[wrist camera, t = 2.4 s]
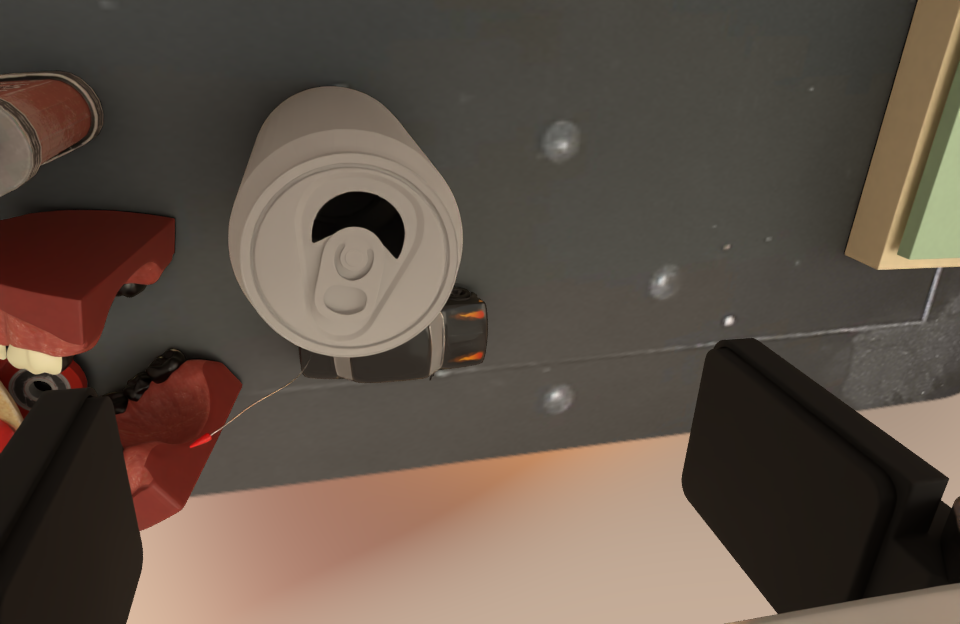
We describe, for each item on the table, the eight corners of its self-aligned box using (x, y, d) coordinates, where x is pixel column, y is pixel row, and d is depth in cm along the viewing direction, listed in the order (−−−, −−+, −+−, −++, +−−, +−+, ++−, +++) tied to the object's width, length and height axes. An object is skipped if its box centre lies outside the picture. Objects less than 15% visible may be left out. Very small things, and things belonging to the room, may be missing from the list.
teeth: (-164, 285, 19) (39, 579, 24) (43, 242, 19) (205, 550, 24) (12, 199, 27) (138, 438, 32) (162, 167, 26) (266, 414, 31)
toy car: (477, 353, 33) (524, 446, 26) (220, 374, 30) (196, 485, 23) (480, 280, 31) (531, 359, 24) (209, 296, 29) (179, 390, 22)
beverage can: (426, 106, 28) (502, 170, 17) (391, 250, 30) (440, 384, 19) (268, 64, 26) (243, 106, 15) (243, 221, 28) (206, 354, 17)
